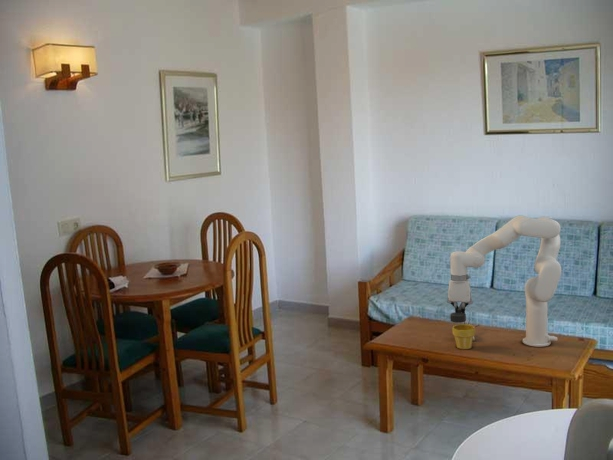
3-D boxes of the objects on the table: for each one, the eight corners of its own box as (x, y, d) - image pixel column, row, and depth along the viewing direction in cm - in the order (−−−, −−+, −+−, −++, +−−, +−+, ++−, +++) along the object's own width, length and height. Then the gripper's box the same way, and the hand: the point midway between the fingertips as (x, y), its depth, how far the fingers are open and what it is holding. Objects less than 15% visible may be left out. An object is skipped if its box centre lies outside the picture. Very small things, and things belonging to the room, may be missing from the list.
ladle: (464, 322, 303) (464, 314, 302) (449, 322, 305) (449, 313, 305) (470, 310, 322) (470, 302, 321) (456, 310, 325) (456, 301, 324)
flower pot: (448, 347, 312) (447, 327, 311) (460, 342, 319) (460, 322, 318) (467, 352, 305) (466, 331, 303) (479, 346, 312) (479, 326, 310)
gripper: (477, 276, 311) (478, 314, 313) (443, 275, 316) (444, 313, 319) (475, 280, 304) (476, 318, 306) (440, 279, 309) (442, 317, 312)
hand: (460, 315), depth 313 cm, fingers closed on ladle
